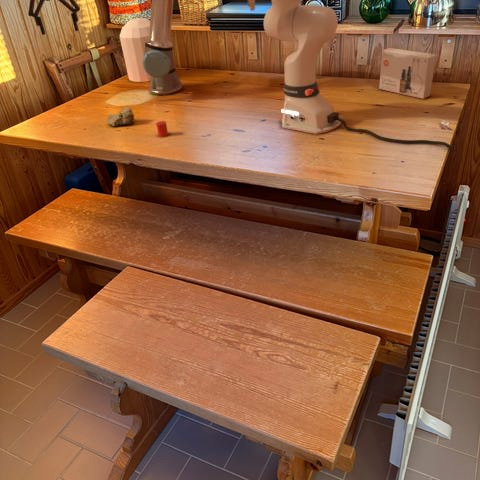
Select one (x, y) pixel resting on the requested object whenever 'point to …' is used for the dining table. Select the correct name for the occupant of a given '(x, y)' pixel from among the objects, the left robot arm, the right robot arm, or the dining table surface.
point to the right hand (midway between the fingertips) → (251, 8)
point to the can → (162, 128)
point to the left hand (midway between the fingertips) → (60, 32)
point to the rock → (121, 118)
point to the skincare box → (407, 72)
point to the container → (135, 48)
